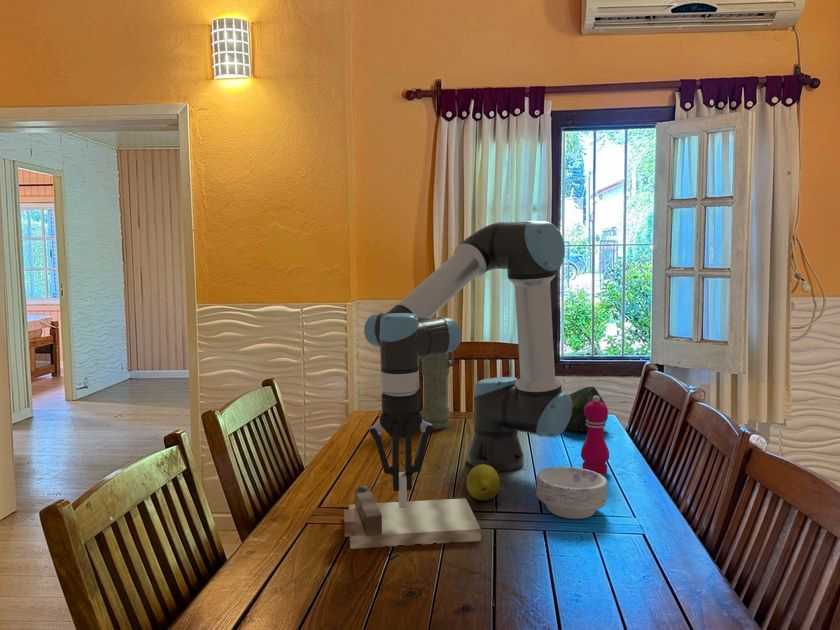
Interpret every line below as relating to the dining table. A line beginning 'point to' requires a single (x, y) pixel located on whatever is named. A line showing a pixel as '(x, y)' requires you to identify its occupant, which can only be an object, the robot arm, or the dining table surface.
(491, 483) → the lemon
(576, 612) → the dining table surface
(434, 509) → the stool seat
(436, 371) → the thermos
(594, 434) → the pepper mill
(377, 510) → the walnut leg
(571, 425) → the squash
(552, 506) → the paper bowls
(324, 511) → the dining table surface
